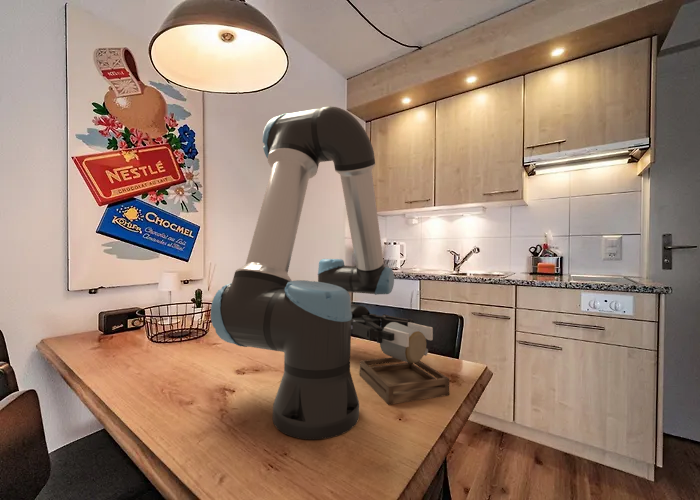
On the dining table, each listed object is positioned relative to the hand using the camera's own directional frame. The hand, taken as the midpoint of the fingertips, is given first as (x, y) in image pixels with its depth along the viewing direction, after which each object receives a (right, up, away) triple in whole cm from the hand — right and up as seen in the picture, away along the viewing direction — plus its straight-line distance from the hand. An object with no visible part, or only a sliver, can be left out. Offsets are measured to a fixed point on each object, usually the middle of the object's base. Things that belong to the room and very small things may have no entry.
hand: (420, 337), depth 66 cm
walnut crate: (-3, -11, +3) cm, 12 cm away
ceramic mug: (-2, -6, +5) cm, 8 cm away
